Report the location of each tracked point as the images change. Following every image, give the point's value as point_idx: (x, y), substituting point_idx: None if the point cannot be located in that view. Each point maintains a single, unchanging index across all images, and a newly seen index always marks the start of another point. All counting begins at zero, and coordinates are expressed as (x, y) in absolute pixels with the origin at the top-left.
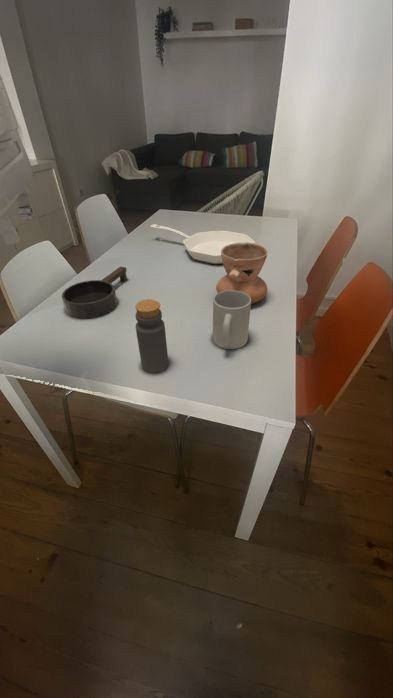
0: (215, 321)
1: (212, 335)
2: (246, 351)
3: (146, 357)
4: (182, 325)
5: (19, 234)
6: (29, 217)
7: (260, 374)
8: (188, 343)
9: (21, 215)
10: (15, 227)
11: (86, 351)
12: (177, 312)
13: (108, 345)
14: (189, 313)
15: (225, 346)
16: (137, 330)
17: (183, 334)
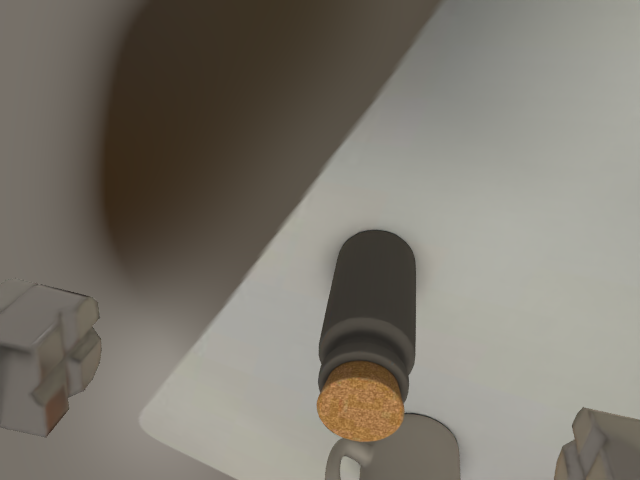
0: (401, 473)
1: (425, 425)
2: None
3: (340, 271)
4: (536, 376)
5: (75, 393)
6: (565, 468)
7: (260, 442)
8: (435, 362)
9: (599, 439)
10: (38, 429)
11: (544, 71)
12: (622, 387)
13: (542, 151)
14: None
15: None
16: (349, 317)
17: (486, 364)
